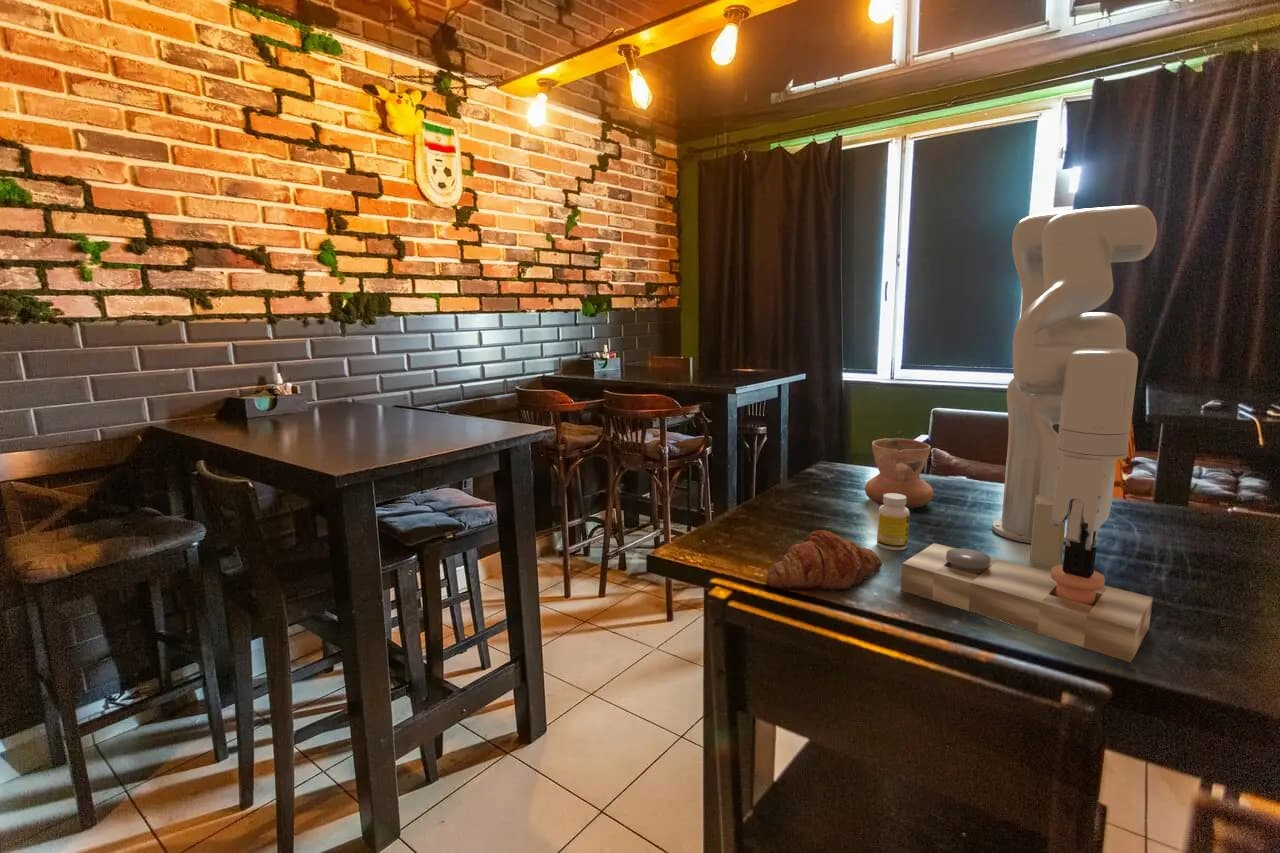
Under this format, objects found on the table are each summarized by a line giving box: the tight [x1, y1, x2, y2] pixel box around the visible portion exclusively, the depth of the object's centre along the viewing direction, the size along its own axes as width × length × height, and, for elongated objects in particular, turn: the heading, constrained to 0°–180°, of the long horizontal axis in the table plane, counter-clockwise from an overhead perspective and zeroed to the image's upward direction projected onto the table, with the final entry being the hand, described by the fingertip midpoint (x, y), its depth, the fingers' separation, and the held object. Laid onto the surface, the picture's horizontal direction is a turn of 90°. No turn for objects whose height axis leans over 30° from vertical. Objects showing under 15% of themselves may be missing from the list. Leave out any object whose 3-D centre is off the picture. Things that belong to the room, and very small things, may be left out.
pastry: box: [766, 529, 883, 592], centre depth 102 cm, size 17×15×8 cm
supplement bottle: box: [876, 493, 911, 551], centre depth 114 cm, size 5×5×10 cm
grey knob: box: [946, 547, 991, 576], centre depth 95 cm, size 6×6×6 cm
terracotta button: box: [1051, 564, 1106, 607], centre depth 84 cm, size 6×6×6 cm
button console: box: [900, 542, 1154, 663], centre depth 90 cm, size 12×29×4 cm, turn 42°
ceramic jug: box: [864, 437, 935, 510], centre depth 139 cm, size 18×14×14 cm
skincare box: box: [1028, 495, 1067, 572], centre depth 102 cm, size 6×4×12 cm
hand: (1077, 573), depth 84 cm, fingers closed
